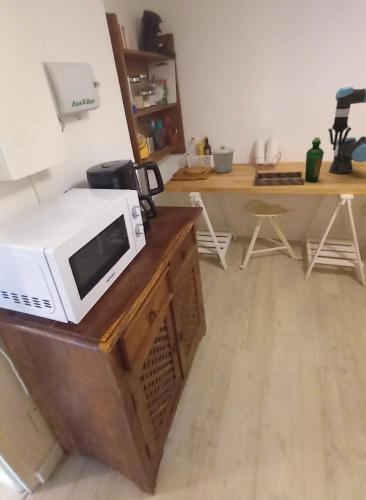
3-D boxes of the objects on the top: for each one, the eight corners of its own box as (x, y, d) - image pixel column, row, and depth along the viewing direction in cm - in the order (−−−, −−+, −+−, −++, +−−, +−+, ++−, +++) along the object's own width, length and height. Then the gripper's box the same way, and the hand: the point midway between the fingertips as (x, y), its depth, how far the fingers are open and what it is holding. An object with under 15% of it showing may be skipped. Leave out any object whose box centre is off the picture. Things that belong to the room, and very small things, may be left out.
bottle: (321, 182, 196) (327, 139, 182) (304, 183, 198) (309, 140, 184) (318, 177, 205) (324, 135, 190) (302, 178, 207) (306, 136, 193)
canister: (239, 170, 240) (239, 143, 229) (224, 175, 230) (223, 148, 219) (222, 167, 252) (221, 141, 241) (208, 172, 242) (206, 146, 231)
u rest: (300, 176, 210) (301, 168, 207) (303, 184, 196) (304, 175, 193) (255, 178, 218) (255, 170, 215) (254, 185, 204) (254, 177, 201)
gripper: (351, 114, 180) (344, 153, 191) (328, 116, 183) (323, 154, 195) (355, 116, 173) (347, 156, 185) (331, 117, 177) (325, 157, 188)
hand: (335, 155), depth 190 cm, fingers closed
